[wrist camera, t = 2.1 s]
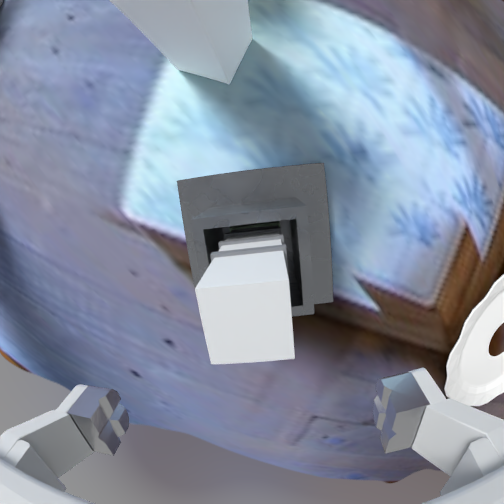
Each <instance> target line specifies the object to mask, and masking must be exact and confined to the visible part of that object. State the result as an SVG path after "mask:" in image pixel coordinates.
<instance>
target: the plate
mask: <svg viewBox="0 0 504 504" xmlns="http://www.w3.org/2000/svg"><path fill="white" fill-rule="evenodd" d="M502 323H504V274H503V275H501V276H500V277H499V278H498V279H497V280H496V281H495V282H494V283H493V285H492V286H491V288H490V289H489V291H488V292H487V294H486V295H485V297H484V298H483V299H482V300H481V301H480V302H479V303H478V304H477V305H476V306H475V307H474V308H473V309H472V310H471V312H470V314H469V315H468V317H467V319H466V320H465V322H464V324H463V327H462V330H461V333H460V336H459V338H458V340H457V342H456V343H455V345H454V347H453V348H452V350H451V352H450V353H449V357H448V360H447V363H446V372H447V378H446V382H445V386H444V390H445V394H446V396H447V397H449V398H451V399H454V400H456V401H458V402H461V403H463V404H466V405H468V406H481V405H483V404H486V403H488V402H489V401H491V400H492V399H493V398H495V397H496V396H498V395H499V394H501V393H503V392H504V352H503V353H502V354H500V355H498V356H495V357H493V356H491V355H490V354H489V352H488V347H489V343H490V340H491V338H492V336H493V334H494V332H495V331H496V330H497V328H498V327H499V326H500V325H501V324H502Z"/></svg>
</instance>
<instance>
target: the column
mask: <svg viewBox="0 0 504 504" xmlns="http://www.w3.org/2000/svg"><path fill="white" fill-rule="evenodd" d="M229 230H230V233H225V241H220V242H219V243H218V244H219V251H218V252H212V253H211V255H210V256H211V264H210V265H209V267H208V268H207V270H206V272H205V273H204V275H203V277H202V278H201V280H200V281H199V283H198V285H197V286H196V288H195V291H196V296H197V301H198V306H199V311H200V316H201V320H202V325H203V330H204V334H205V339H206V343H207V347H208V352H209V356H210V360H211V364H231V363H248V362H262V361H275V360H285V359H295V354H294V340H293V326H292V307H291V295H290V283H289V272H288V261H287V251H286V244H284V237H283V234H282V230H281V227H280V221H272V222H262V223H253V224H245V225H236V226H230V228H229Z"/></svg>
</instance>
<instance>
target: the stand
mask: <svg viewBox="0 0 504 504" xmlns="http://www.w3.org/2000/svg"><path fill="white" fill-rule="evenodd" d="M177 184H178V191H179V198H180V205H181V211H182V218H183V224H184V230H185V236H186V242H187V248H188V254H189V259H190V265H191V270H192V276H193V281H194V286H195V288H196V286H197V285H198V283H199V281H200V280H201V278H202V277H203V275H204V273H205V272H206V270H207V268H208V267H209V265H210V264H211V256H210V255H211V253H212V252H218V251H219V244H218V243H219V242H220V241H225V233H230V230H229V228H230V226H236V225H245V224H253V223H262V222H272V221H280V227H281V230H282V234H283V237H284V244H286V251H287V261H288V272H289V283H290V295H291V307H292V316H301V315H310V314H314V304H320V303H329V302H333V279H332V257H331V239H330V225H329V212H328V200H327V189H326V179H325V170H324V163H315V164H303V165H292V166H282V167H272V168H263V169H255V170H247V171H239V172H231V173H224V174H217V175H210V176H204V177H197V178H191V179H185V180H179V181H177Z"/></svg>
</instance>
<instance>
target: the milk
mask: <svg viewBox="0 0 504 504" xmlns="http://www.w3.org/2000/svg"><path fill="white" fill-rule="evenodd" d="M109 1H111V2H112V3H113V4H114V5H115V6H116V7H117V8H118V9H119V10H120V11H121V12H122V13H123V14H124V15H125V16H126V17H127V18H128V19H129V20H130V21H131V22H132V23H133V24H134V25H135V26H136V27H137V28H138V29H139V30H140V31H141V32H142V33H143V34H144V35H145V36H146V37H147V38H148V39H149V40H150V41H151V42H152V43H153V44H154V45H155V46H156V47H157V48H158V49H159V50H160V51H161V53H162V54H163V55H164V56H165V57H166V58H167V59H168V60H169V61H170V62H171V63H172V64H173V65H174V66H175V68H176V69H177V70H181V71H185V72H188V73H192V74H196V75H199V76H203V77H206V78H210V79H213V80H216V81H219V82H223V83H226V84H230V83H231V81H232V79H233V77H234V75H235V73H236V70H237V68H238V66H239V64H240V62H241V60H242V58H243V56H244V54H245V52H246V50H247V48H248V47H249V45H250V43H251V41H252V30H251V22H250V14H249V6H248V0H109Z"/></svg>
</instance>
